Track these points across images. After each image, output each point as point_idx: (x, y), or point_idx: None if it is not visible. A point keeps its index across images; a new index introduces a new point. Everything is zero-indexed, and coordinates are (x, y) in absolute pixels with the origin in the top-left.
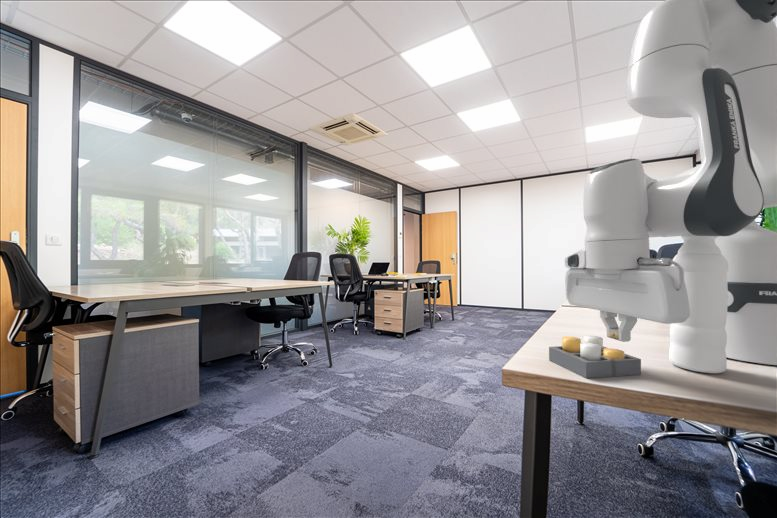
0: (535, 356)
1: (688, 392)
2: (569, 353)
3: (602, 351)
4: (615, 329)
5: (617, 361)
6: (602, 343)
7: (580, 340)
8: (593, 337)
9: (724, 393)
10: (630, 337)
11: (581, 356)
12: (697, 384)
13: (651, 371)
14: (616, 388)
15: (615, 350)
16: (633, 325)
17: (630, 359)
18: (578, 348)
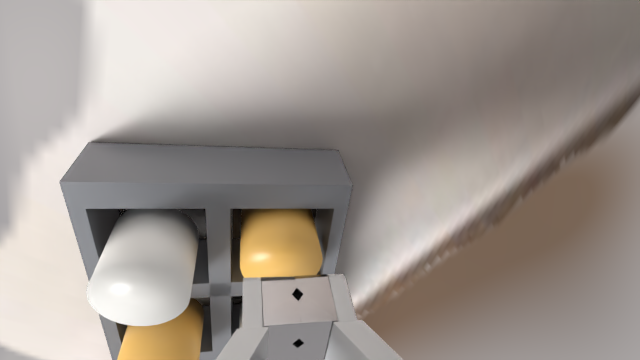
0: (77, 338)
1: (493, 150)
2: (217, 353)
3: (212, 246)
4: (300, 356)
5: (333, 270)
6: (182, 255)
7: (187, 357)
8: (141, 295)
9: (564, 44)
10: (347, 285)
11: None
12: (486, 43)
13: (324, 72)
14: (387, 290)
15: (281, 255)
16: (394, 357)
17: (340, 225)
18: (200, 335)
